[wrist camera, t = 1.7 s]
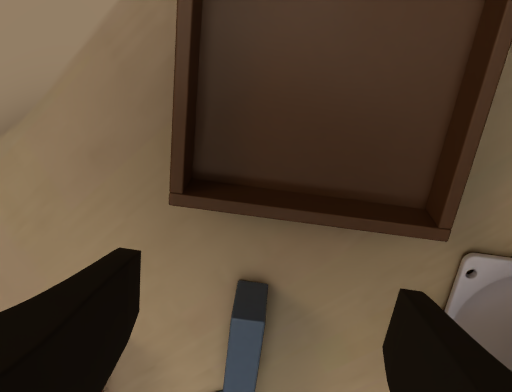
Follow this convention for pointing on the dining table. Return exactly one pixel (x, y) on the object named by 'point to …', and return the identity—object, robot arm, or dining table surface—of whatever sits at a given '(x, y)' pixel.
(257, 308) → the blue block and disc
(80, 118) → the dining table surface
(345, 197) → the tray
